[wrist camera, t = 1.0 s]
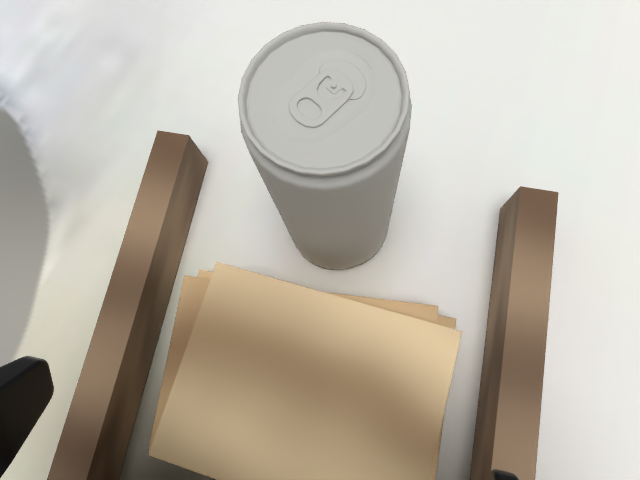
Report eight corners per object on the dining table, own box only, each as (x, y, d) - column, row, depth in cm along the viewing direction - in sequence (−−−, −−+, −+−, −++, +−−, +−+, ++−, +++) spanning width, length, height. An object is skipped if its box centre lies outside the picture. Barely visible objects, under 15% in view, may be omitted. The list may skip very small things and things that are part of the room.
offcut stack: (424, 516, 20) (442, 556, 16) (161, 452, 22) (112, 473, 17) (450, 318, 22) (473, 306, 18) (209, 272, 24) (176, 250, 19)
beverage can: (407, 225, 24) (454, 89, 12) (339, 293, 23) (321, 217, 12) (339, 164, 25) (323, -13, 13) (272, 227, 24) (195, 98, 13)
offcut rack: (495, 621, 19) (541, 707, 14) (74, 509, 21) (-8, 550, 17) (533, 214, 23) (579, 174, 19) (180, 157, 26) (139, 108, 21)
